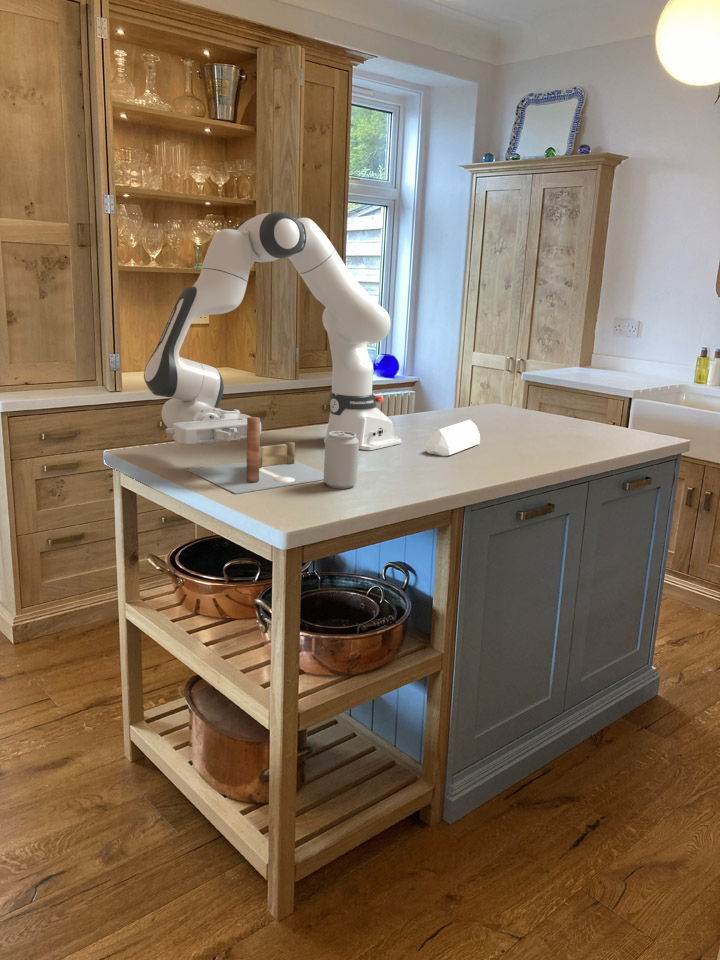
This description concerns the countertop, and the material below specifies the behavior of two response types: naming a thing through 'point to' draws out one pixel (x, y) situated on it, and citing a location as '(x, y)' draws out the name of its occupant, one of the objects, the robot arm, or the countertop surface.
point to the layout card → (269, 476)
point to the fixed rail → (277, 454)
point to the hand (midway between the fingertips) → (234, 437)
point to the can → (341, 459)
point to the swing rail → (253, 449)
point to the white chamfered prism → (453, 439)
